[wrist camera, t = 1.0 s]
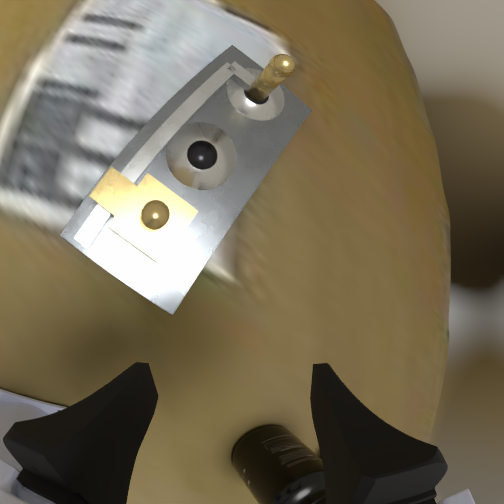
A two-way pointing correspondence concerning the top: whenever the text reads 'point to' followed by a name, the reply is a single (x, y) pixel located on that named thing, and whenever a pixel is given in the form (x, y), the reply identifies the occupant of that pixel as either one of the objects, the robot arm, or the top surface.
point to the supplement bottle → (279, 468)
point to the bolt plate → (197, 168)
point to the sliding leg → (144, 212)
